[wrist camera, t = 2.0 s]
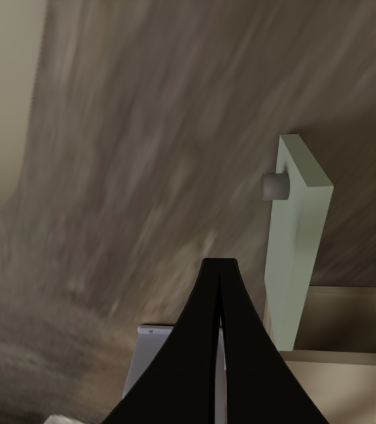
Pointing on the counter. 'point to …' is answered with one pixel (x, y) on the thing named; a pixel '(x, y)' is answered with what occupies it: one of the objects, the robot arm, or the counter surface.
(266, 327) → the cabinet
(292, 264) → the door
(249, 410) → the robot arm
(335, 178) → the counter surface
